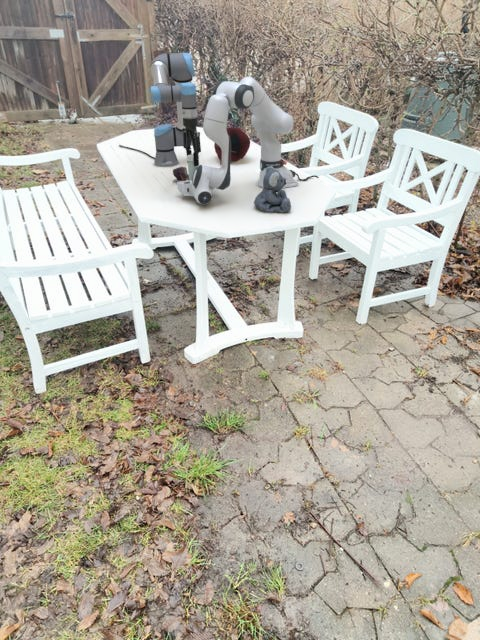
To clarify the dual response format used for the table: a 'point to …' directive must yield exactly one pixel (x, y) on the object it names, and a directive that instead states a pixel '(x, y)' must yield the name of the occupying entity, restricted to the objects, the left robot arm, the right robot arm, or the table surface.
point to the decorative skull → (235, 144)
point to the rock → (181, 174)
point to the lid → (190, 157)
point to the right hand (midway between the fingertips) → (193, 180)
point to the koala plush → (273, 193)
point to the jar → (191, 169)
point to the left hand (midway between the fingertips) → (193, 164)
